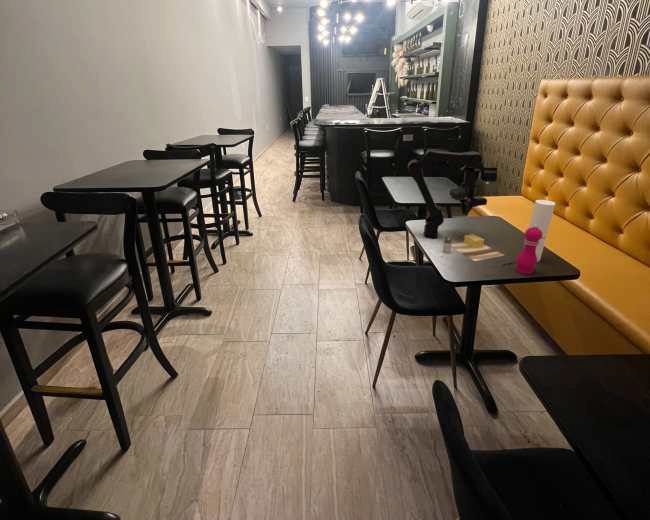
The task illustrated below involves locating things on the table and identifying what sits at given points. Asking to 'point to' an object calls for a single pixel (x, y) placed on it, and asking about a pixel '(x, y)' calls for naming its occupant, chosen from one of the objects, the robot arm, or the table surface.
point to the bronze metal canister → (447, 244)
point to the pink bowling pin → (529, 251)
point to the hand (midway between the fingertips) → (464, 214)
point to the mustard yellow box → (473, 241)
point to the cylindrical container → (542, 221)
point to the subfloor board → (476, 251)
